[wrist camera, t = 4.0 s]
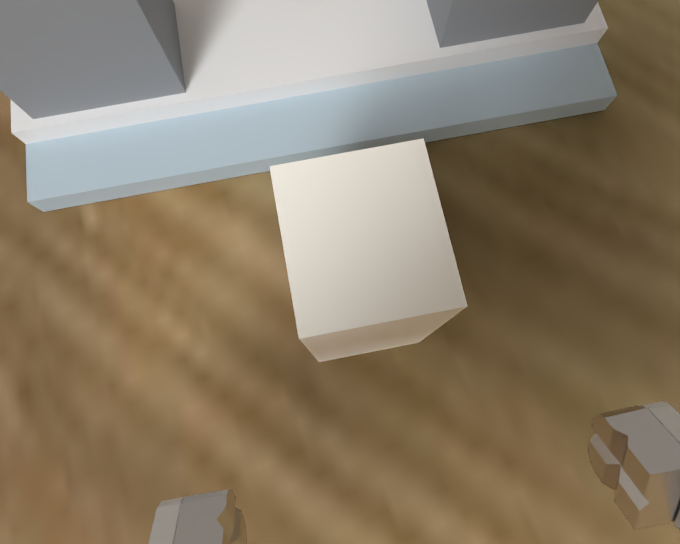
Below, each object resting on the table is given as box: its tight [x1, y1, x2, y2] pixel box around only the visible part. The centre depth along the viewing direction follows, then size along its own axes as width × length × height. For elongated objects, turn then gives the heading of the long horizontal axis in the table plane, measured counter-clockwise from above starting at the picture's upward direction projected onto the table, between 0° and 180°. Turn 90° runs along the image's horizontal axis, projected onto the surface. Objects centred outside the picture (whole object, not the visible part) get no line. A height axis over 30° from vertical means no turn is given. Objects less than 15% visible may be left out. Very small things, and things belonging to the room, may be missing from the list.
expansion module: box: [270, 138, 467, 362], centre depth 18 cm, size 5×4×9 cm
